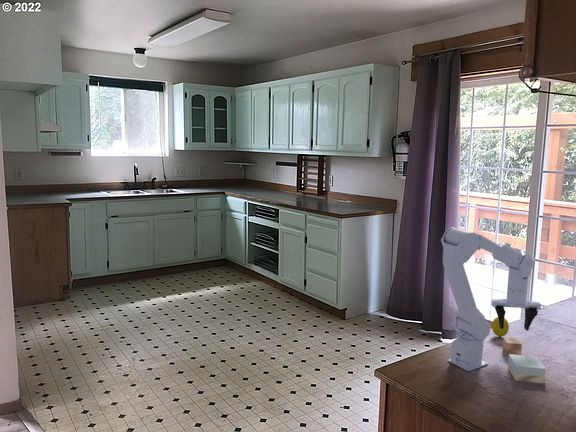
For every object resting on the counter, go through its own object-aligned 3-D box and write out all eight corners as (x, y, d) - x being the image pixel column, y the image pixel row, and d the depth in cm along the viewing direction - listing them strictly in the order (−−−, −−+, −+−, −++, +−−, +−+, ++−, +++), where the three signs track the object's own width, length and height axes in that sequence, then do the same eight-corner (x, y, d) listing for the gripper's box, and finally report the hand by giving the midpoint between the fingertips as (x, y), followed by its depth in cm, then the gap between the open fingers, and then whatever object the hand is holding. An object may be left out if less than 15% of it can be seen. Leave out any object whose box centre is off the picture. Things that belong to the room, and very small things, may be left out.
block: (506, 357, 153) (507, 342, 152) (502, 351, 157) (503, 337, 156) (520, 358, 152) (522, 343, 151) (516, 352, 156) (517, 338, 155)
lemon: (510, 340, 165) (512, 319, 164) (494, 340, 166) (496, 318, 164) (503, 334, 171) (505, 313, 170) (488, 334, 171) (490, 313, 170)
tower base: (515, 382, 137) (516, 374, 137) (507, 369, 145) (508, 361, 145) (544, 384, 136) (545, 376, 136) (535, 371, 144) (536, 364, 143)
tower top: (515, 374, 137) (515, 366, 137) (508, 361, 145) (508, 354, 145) (544, 376, 136) (545, 368, 135) (536, 364, 143) (536, 356, 143)
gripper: (496, 291, 148) (493, 331, 150) (545, 293, 146) (541, 335, 148) (491, 284, 155) (488, 323, 157) (537, 287, 153) (534, 326, 155)
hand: (513, 328), depth 153 cm, fingers open, 7 cm apart
